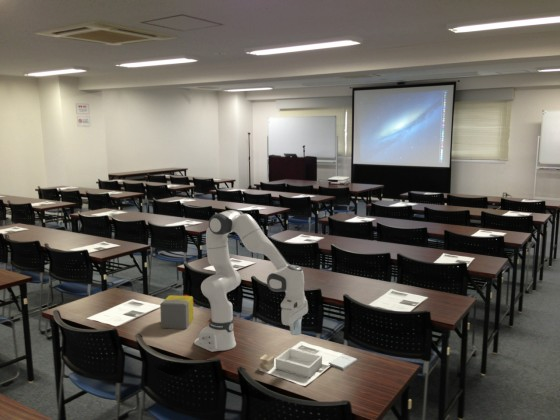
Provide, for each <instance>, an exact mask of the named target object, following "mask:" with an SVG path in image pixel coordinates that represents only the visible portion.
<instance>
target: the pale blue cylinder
mask: <svg viewBox="0 0 560 420" xmlns="http://www.w3.org/2000/svg"><path fill="white" fill-rule="evenodd" d="M293 325H294V326H295V330H293V331H291V330H290V329H289V330H290V335H292V336H299V335H301V334H302V321H301V318H299V319H298V320H296V321H295V322H294V324H293Z"/></svg>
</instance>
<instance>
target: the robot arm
mask: <svg viewBox="0 0 560 420" xmlns="http://www.w3.org/2000/svg"><path fill="white" fill-rule="evenodd" d="M230 233H235V234H237V236H238V237H239V239H240V241H241V242H242V244H243V246H244V247H245V248H246V250H247V251H249V252H250V253H255V254H262V255H263V256H266V257H267V258H268V259H269V261H270V262H271V264H273V266H274V267H275V268H276V270H274V271H273V272H271V273H270V274H268V276H267V277H266V285H267V286H268V289H269V290H270V291H272V292H275V293H279V292H285V296H284V298H283V300H282V301H281V303H280V308H281V312H280V313H281V315H280V316H281V323H282V325H285V326H289V330H291V331H293V330H295V326H294V325H293V324H294V322H295V321H296V320H298V319H299V318H301V322H302V320H303V316H305V315H306V314H308V312H309V304H308V300H307V297H306V295H305V289H304V288H305V275H304V271H303V267H301V266H299V265H296V264H290V263H289V262H288V261H287V260H286V258H285V257H284V255H283V254H282V253H281V252H280V250H279V249H278V248H277V247H276V245H275V244H274V243H273V242H272V241H271V240H270V239H269V238H268V237H267V236H266V235H265V233H264V232H263V230H262V229H261V227H260V226H259V224H258V222H257V221H256V220H255V218H253V216H251V215H250V214H248V213H244V212H242V211H241V210H238V209H232V210H231V209H230V210H225V211H224V210H223V211H222V212H218V213H215V214H214V215H211V217H210V218H209V220H208V227H207V228H206V232H205V247H206V255H207V262H208V264H209V265H211V266H212V267H213V268H214V270H215V274H212V275H210V276H209V277H207V278H205V279H204V280H203V281H202V282H201V285H200V290H201V293H202V294H203V296H204V298H206V299H207V300H208V302H209V304H210V314H211V316H210V317H211V318H209V319H208V320H207V322H206V323H208V324H207V325H206V326H205V327H204V328H202V329H201V330H200V332H199V334H198V338H196V339H195V340H194V342H193V343H194V344H193V345H195V346H198V347H200V348H202V349H205V350H206V351H210V352H219V351H221V352H222V351H228V350H231V349H234V348H235V347H236V346H237V343H236V338H235V334H234V324H235V323H234V317H233V316H234V314H233V308H234V307H233V303H232V302H231V301H229V299H228V296H227V294H228V293H229V292H231V291H233V290H235V289H236V288H237V287H239V286H240V284H241V282H242V277H241V274H240V273H239V271H237V270H236V269H235V268H234V266H233V264H232V261H231V257H230V250H229V243H228V242H229V241H228V236H229V234H230Z"/></svg>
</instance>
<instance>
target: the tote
mask: <svg viewBox="0 0 560 420" xmlns="http://www.w3.org/2000/svg"><path fill="white" fill-rule="evenodd" d="M322 366H323V356H322V355H319V354H315V353H311V352H307V351H304V350H299V349H295V348H291V347H289V348H287V350H285V351H284V352H282V353H281V354H280V355H279V356H277V357H276V358H275V370H278V371H281V372H285V373H289V374H292V375H297V376H298V377H302V376H303V378H306V377H308V378H307V379H310V378H311V377H312V376H314V374H316V372H317V371H319V370H320V369H321V368H322ZM309 377H310V378H309Z"/></svg>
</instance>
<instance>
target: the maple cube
mask: <svg viewBox="0 0 560 420" xmlns="http://www.w3.org/2000/svg"><path fill="white" fill-rule="evenodd" d="M274 367H275V356H273V355H269V354H266V353H265V354H263V355H262V356H261V357H260V358H259V369H260V370H261V369H262V370H265V371H270V370H272V369H273V368H274Z"/></svg>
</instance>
